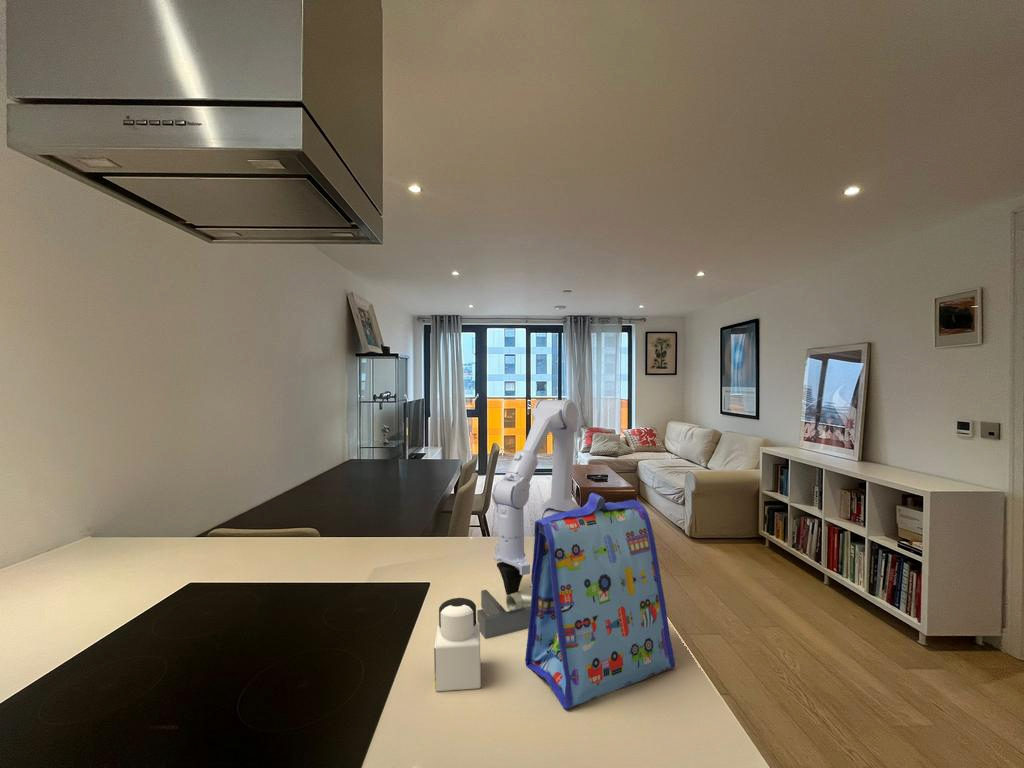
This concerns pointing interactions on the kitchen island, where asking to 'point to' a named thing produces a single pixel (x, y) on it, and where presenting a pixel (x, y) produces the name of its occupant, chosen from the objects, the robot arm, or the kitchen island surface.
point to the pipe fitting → (519, 599)
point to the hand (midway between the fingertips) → (512, 595)
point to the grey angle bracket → (500, 617)
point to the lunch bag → (596, 601)
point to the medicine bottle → (457, 646)
